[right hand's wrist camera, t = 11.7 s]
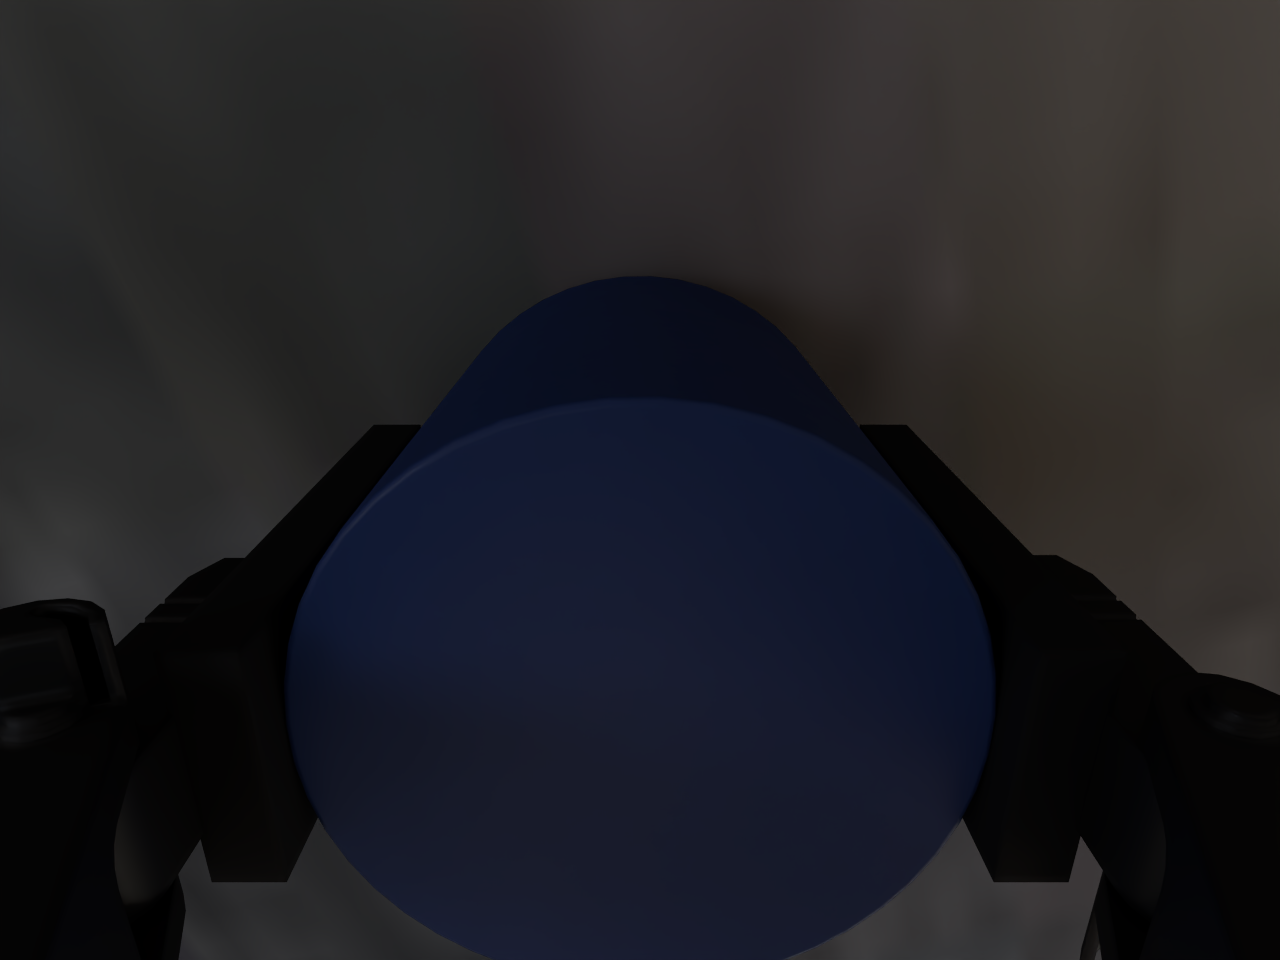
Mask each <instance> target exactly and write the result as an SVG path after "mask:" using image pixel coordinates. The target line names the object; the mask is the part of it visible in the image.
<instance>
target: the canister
mask: <svg viewBox="0 0 1280 960" xmlns="http://www.w3.org/2000/svg"><path fill="white" fill-rule="evenodd" d="M284 699H285V718H286V728H287V733H288V737H289V742H290V747H291V751H292V756H293V761H294V764H295V767H296V769H297V772H298V774H299V777H300V780H301V782H302V785H303V788H304V790H305V793H306V796H307V798H308V800H309V802H310V803H311V805H312V807H313V809H314V811H315V812H316V814H317V816H318V818H319V820H320V821H321V823H322V825H323V827H324V829H325V830H326V832H327V833H328V834H329V836H330V837H331V839H332V840H333V841H334V843H335V844H336V845H337V847H338V848H339V849H340V851H341V852H342V853H343V855H344V856H345V857H346V859H347V860H348V861H349V862H350V863H351V864H352V865H353V866H354V867H355V868H356V869H357V871H358V872H359V873H360V874H361V875H362V876H363V877H364V878H365V879H366V880H367V881H368V882H369V883H370V884H371V885H372V886H373V887H374V888H375V889H376V890H377V891H379V892H380V893H381V894H382V895H384V896H385V897H386V898H387V899H388V900H390V901H391V902H392V903H393V904H395V905H396V906H397V907H398V908H399V909H401V910H402V911H403V912H404V913H406V914H407V915H409V916H411V917H412V918H414V919H415V920H417V921H418V922H420V923H421V924H423V925H425V926H426V927H428V928H429V929H431V930H432V931H434V932H435V933H437V934H439V935H441V936H443V937H445V938H447V939H449V940H451V941H453V942H455V943H457V944H459V945H461V946H463V947H465V948H467V949H469V950H471V951H473V952H476V953H478V954H481V955H483V956H486V957H489V958H491V959H494V960H787V959H790V958H792V957H794V956H797V955H799V954H802V953H804V952H807V951H809V950H812V949H814V948H816V947H818V946H820V945H822V944H824V943H826V942H828V941H830V940H832V939H833V938H835V937H837V936H839V935H841V934H843V933H845V932H847V931H848V930H850V929H852V928H853V927H855V926H856V925H858V924H859V923H861V922H862V921H864V920H865V919H867V918H868V917H870V916H871V915H873V914H874V913H875V912H877V911H878V910H880V909H881V908H883V907H884V906H885V905H886V904H888V903H889V902H890V901H891V900H892V899H893V898H895V897H896V896H897V895H898V894H899V893H900V892H901V891H903V890H904V889H905V888H906V887H907V886H908V885H910V884H911V883H912V882H913V881H914V880H915V879H916V878H917V876H918V875H919V874H920V873H921V872H922V871H923V870H924V869H925V868H926V867H927V865H928V864H929V863H930V862H931V861H932V860H933V859H934V858H935V857H936V856H937V855H938V853H939V852H940V850H941V849H942V848H943V846H944V845H945V843H946V842H947V840H948V839H949V838H950V836H951V835H952V833H953V832H954V830H955V829H956V828H957V826H958V825H959V823H960V821H961V819H962V817H963V815H964V813H965V812H966V810H967V808H968V806H969V804H970V802H971V800H972V798H973V796H974V794H975V792H976V790H977V787H978V784H979V782H980V779H981V776H982V773H983V770H984V767H985V764H986V761H987V758H988V755H989V751H990V745H991V739H992V734H993V728H994V723H995V717H996V667H995V661H994V654H993V647H992V640H991V634H990V631H989V627H988V624H987V621H986V618H985V615H984V612H983V609H982V605H981V602H980V599H979V596H978V594H977V592H976V590H975V588H974V586H973V584H972V582H971V580H970V578H969V576H968V574H967V572H966V570H965V568H964V566H963V564H962V562H961V560H960V558H959V556H958V555H957V554H956V552H955V551H954V549H953V548H952V547H951V545H950V544H949V543H948V541H947V540H946V538H945V537H944V536H943V534H942V533H941V532H940V530H939V529H938V527H937V526H936V525H935V523H934V522H933V520H932V519H931V518H930V517H929V515H928V514H927V513H926V512H925V510H924V509H923V508H922V507H921V505H920V504H919V503H918V502H917V500H916V499H915V498H914V496H913V495H912V494H911V493H910V491H909V490H908V489H907V488H906V486H905V485H904V484H903V483H902V481H901V480H900V479H899V477H898V476H897V475H896V474H895V472H894V471H893V470H892V469H891V467H890V466H889V465H888V464H887V462H886V461H885V460H884V458H883V457H882V456H881V455H880V453H879V452H878V451H877V450H876V448H875V447H874V446H873V445H872V443H871V442H870V441H869V439H868V438H867V437H866V436H865V434H864V433H863V432H862V431H861V429H860V428H859V427H858V426H857V424H856V423H855V422H854V420H853V419H852V418H851V417H850V415H849V414H848V413H847V412H846V410H845V409H844V408H843V407H842V405H841V404H840V403H839V402H838V400H837V399H836V398H835V396H834V395H833V394H832V393H831V391H830V390H829V389H828V388H827V386H826V385H825V384H824V383H823V381H822V380H821V379H820V377H819V376H818V375H817V374H816V372H815V371H814V370H813V369H812V367H811V366H810V365H809V364H808V362H807V361H806V360H805V358H804V357H803V356H802V355H801V353H800V352H799V351H798V350H797V348H796V347H795V346H794V345H793V344H792V343H791V342H790V341H789V340H788V339H787V338H786V337H785V336H784V335H783V333H782V332H781V331H780V330H779V329H778V328H777V327H776V326H774V325H773V324H772V323H770V322H769V321H768V320H767V319H765V318H764V317H763V316H761V315H760V314H759V313H758V312H756V311H755V310H753V309H751V308H750V307H748V306H746V305H744V304H743V303H741V302H739V301H738V300H736V299H734V298H732V297H730V296H728V295H725V294H723V293H720V292H718V291H716V290H713V289H711V288H708V287H706V286H702V285H698V284H694V283H690V282H686V281H682V280H678V279H670V278H661V277H653V276H637V277H618V278H611V279H604V280H598V281H593V282H590V283H586V284H583V285H579V286H576V287H572V288H569V289H567V290H564V291H562V292H560V293H558V294H555V295H553V296H551V297H549V298H546V299H544V300H542V301H541V302H539V303H537V304H536V305H534V306H533V307H531V308H529V309H528V310H526V311H524V312H523V313H521V314H520V315H519V316H517V317H516V318H515V319H514V320H513V321H511V322H510V323H509V324H508V325H507V326H505V327H504V328H503V329H502V330H500V331H499V332H498V334H497V335H496V336H495V337H494V338H493V339H492V340H491V341H490V342H489V343H488V345H487V346H486V347H485V348H484V349H483V350H482V351H481V352H480V354H479V355H478V356H477V358H476V359H475V360H474V361H473V363H472V364H471V365H470V366H469V368H468V369H467V370H466V371H465V373H464V374H463V375H462V376H461V378H460V379H459V380H458V382H457V383H456V384H455V385H454V387H453V388H452V389H451V390H450V392H449V393H448V394H447V395H446V397H445V398H444V399H443V401H442V402H441V403H440V404H439V406H438V407H437V408H436V409H435V411H434V412H433V413H432V414H431V416H430V417H429V418H428V420H427V421H426V422H425V423H424V425H423V426H422V427H421V428H420V430H419V431H418V432H417V433H416V435H415V436H414V437H413V439H412V440H411V441H410V442H409V444H408V445H407V446H406V447H405V449H404V450H403V451H402V452H401V454H400V455H399V456H398V457H397V459H396V460H395V461H394V463H393V464H392V465H391V466H390V468H389V469H388V470H387V471H386V473H385V474H384V475H383V476H382V478H381V479H380V480H379V482H378V483H377V484H376V485H375V487H374V488H373V489H372V490H371V492H370V493H369V494H368V495H367V497H366V498H365V499H364V501H363V502H362V503H361V504H360V506H359V507H358V508H357V509H356V511H355V512H354V513H353V514H352V516H351V517H350V518H349V520H348V521H347V522H346V523H345V525H344V526H343V527H342V528H341V530H340V531H339V533H338V534H337V536H336V537H335V539H334V540H333V542H332V543H331V545H330V546H329V548H328V549H327V551H326V552H325V554H324V555H323V557H322V558H321V560H320V561H319V563H318V564H317V566H316V568H315V570H314V572H313V574H312V576H311V579H310V581H309V583H308V585H307V587H306V589H305V592H304V594H303V596H302V598H301V600H300V602H299V605H298V609H297V612H296V616H295V619H294V623H293V627H292V630H291V634H290V637H289V641H288V647H287V656H286V666H285V675H284Z"/></svg>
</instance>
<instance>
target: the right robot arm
mask: <svg viewBox="0 0 1280 960" xmlns="http://www.w3.org/2000/svg"><path fill="white" fill-rule="evenodd" d="M420 428H421V426H420V425H373V426H372V427H371V428H370V429H369V430H368V431H367V432H366V434H365V435H364V436H363V437H362V438H361V439H360V440H359V441H358V442H357V443H356V444H355V445H354V446H353V447H352V448H351V449H350V450H349V451H348V452H347V453H346V454H345V455H344V456H343V457H342V458H341V459H340V460H339V461H338V462H337V463H336V464H335V466H334V467H333V468H332V469H331V470H330V471H329V472H328V473H327V474H326V475H325V476H324V477H323V478H322V479H321V480H320V481H319V482H318V483H317V484H316V485H315V486H314V487H313V488H312V489H311V490H310V491H309V492H308V493H307V494H306V495H305V496H304V497H303V499H302V500H301V501H300V502H299V503H298V504H297V505H296V506H295V507H294V508H293V509H292V510H291V511H290V512H289V513H288V514H287V515H286V516H285V517H284V518H283V519H282V520H281V521H280V522H279V523H278V524H277V525H276V526H275V527H274V528H273V529H272V530H271V532H270V533H269V534H268V535H267V536H266V537H265V538H264V539H263V540H262V541H261V542H260V543H259V544H258V545H257V546H256V547H255V548H254V549H253V550H252V551H251V552H250V553H249V554H248V555H247V556H246V557H245V558H224V559H222V560H220V561H218V562H216V563H214V564H212V565H210V566H208V567H207V568H205V569H203V570H201V571H199V572H197V573H195V574H193V575H191V576H190V577H188V578H187V579H186V580H185V581H184V582H183V583H182V584H181V585H180V586H178V587H177V588H176V589H175V590H174V591H173V592H172V593H171V594H170V595H169V596H168V597H167V598H166V599H165V604H159V605H158V606H157V607H156V608H155V609H154V610H153V611H152V612H151V613H150V614H149V615H148V616H147V617H146V618H145V623H139V624H138V625H137V626H136V627H135V628H134V629H133V630H132V631H131V632H130V633H129V634H128V635H127V636H126V637H125V638H123V639H122V640H121V641H120V642H119V643H118V644H117V645H116V646H114V642H113V638H112V635H111V631H110V628H109V624H108V620H107V617H106V613H105V610H104V609H103V608H101V607H99V606H98V605H96V604H95V603H93V602H92V601H85V600H77V599H70V598H66V599H53V600H40V601H34V602H30V603H25V604H21V605H16V606H12V607H7V608H3V609H0V960H178V959H179V952H180V946H181V939H182V932H183V926H184V919H185V912H186V909H185V902H184V895H183V890H182V887H181V883H180V879H179V876H178V873H179V872H180V870H181V869H182V867H183V866H184V864H185V862H186V861H187V859H188V858H189V856H190V855H191V853H192V851H193V850H194V848H195V847H196V845H197V844H198V842H199V840H200V839H201V842H202V846H203V850H204V854H205V858H206V861H207V865H208V869H209V873H210V877H211V881H212V882H287V880H288V878H289V876H290V874H291V872H292V870H293V868H294V866H295V864H296V862H297V860H298V858H299V855H300V853H301V851H302V849H303V847H304V845H305V843H306V841H307V839H308V837H309V835H310V833H311V831H312V829H313V826H314V824H315V822H316V820H317V818H318V816H317V814H316V812H315V811H314V809H313V807H312V805H311V803H310V802H309V800H308V798H307V796H306V793H305V790H304V788H303V785H302V782H301V780H300V777H299V774H298V772H297V769H296V767H295V764H294V761H293V756H292V751H291V747H290V742H289V737H288V733H287V728H286V718H285V699H284V675H285V666H286V656H287V647H288V641H289V637H290V634H291V630H292V627H293V623H294V619H295V616H296V612H297V609H298V605H299V602H300V600H301V598H302V596H303V594H304V592H305V589H306V587H307V585H308V583H309V581H310V579H311V576H312V574H313V572H314V570H315V568H316V566H317V564H318V563H319V561H320V560H321V558H322V557H323V555H324V554H325V552H326V551H327V549H328V548H329V546H330V545H331V543H332V542H333V540H334V539H335V537H336V536H337V534H338V533H339V531H340V530H341V528H342V527H343V526H344V525H345V523H346V522H347V521H348V520H349V518H350V517H351V516H352V514H353V513H354V512H355V511H356V509H357V508H358V507H359V506H360V504H361V503H362V502H363V501H364V499H365V498H366V497H367V495H368V494H369V493H370V492H371V490H372V489H373V488H374V487H375V485H376V484H377V483H378V482H379V480H380V479H381V478H382V476H383V475H384V474H385V473H386V471H387V470H388V469H389V468H390V466H391V465H392V464H393V463H394V461H395V460H396V459H397V457H398V456H399V455H400V454H401V452H402V451H403V450H404V449H405V447H406V446H407V445H408V444H409V442H410V441H411V440H412V439H413V437H414V436H415V435H416V433H417V432H418V431H419V430H420ZM860 429H861V431H862V432H863V433H864V434H865V436H866V437H867V438H868V439H869V441H870V442H871V443H872V445H873V446H874V447H875V448H876V450H877V451H878V452H879V453H880V455H881V456H882V457H883V458H884V460H885V461H886V462H887V464H888V465H889V466H890V467H891V469H892V470H893V471H894V472H895V474H896V475H897V476H898V477H899V479H900V480H901V481H902V483H903V484H904V485H905V486H906V488H907V489H908V490H909V491H910V493H911V494H912V495H913V496H914V498H915V499H916V500H917V502H918V503H919V504H920V505H921V507H922V508H923V509H924V510H925V512H926V513H927V514H928V515H929V517H930V518H931V519H932V520H933V522H934V523H935V525H936V526H937V527H938V529H939V530H940V532H941V533H942V534H943V536H944V537H945V538H946V540H947V541H948V543H949V544H950V545H951V547H952V548H953V549H954V551H955V552H956V554H957V555H958V556H959V558H960V560H961V562H962V564H963V566H964V568H965V570H966V572H967V574H968V576H969V578H970V580H971V582H972V584H973V586H974V588H975V590H976V592H977V594H978V596H979V599H980V602H981V605H982V609H983V612H984V615H985V618H986V621H987V624H988V627H989V631H990V634H991V640H992V647H993V654H994V661H995V667H996V717H995V723H994V728H993V734H992V739H991V745H990V751H989V755H988V758H987V761H986V764H985V767H984V770H983V773H982V776H981V779H980V782H979V784H978V787H977V790H976V792H975V794H974V796H973V798H972V800H971V802H970V804H969V806H968V808H967V810H966V812H965V813H964V815H963V819H964V822H965V824H966V826H967V828H968V830H969V832H970V834H971V836H972V838H973V840H974V842H975V844H976V846H977V848H978V851H979V853H980V855H981V857H982V859H983V861H984V863H985V865H986V867H987V869H988V871H989V873H990V875H991V877H992V880H993V882H1069V879H1070V875H1071V871H1072V867H1073V863H1074V859H1075V855H1076V852H1077V848H1078V844H1079V840H1080V836H1081V837H1082V838H1083V840H1084V842H1085V843H1086V845H1087V846H1088V848H1089V849H1090V851H1091V853H1092V854H1093V856H1094V857H1095V859H1096V860H1097V862H1098V863H1099V865H1100V867H1101V868H1102V870H1103V872H1102V876H1101V879H1100V883H1099V887H1098V890H1097V894H1096V897H1095V901H1094V905H1093V908H1092V912H1091V915H1090V919H1089V923H1088V926H1087V930H1086V933H1085V937H1084V941H1083V944H1082V948H1081V954H1080V960H1094V959H1095V955H1096V952H1097V951H1098V950H1099V949H1100V950H1101V957H1102V960H1280V695H1278V694H1276V693H1273V692H1271V691H1269V690H1266V689H1264V688H1262V687H1259V686H1257V685H1255V684H1252V683H1249V682H1245V681H1241V680H1238V679H1234V678H1230V677H1226V676H1222V675H1217V674H1206V673H1198V672H1197V671H1195V670H1194V669H1193V668H1192V667H1191V666H1190V665H1189V664H1188V663H1187V662H1186V661H1185V660H1184V659H1183V658H1182V657H1181V656H1179V655H1178V654H1177V653H1176V652H1175V651H1174V650H1173V649H1172V648H1171V647H1170V646H1169V645H1168V644H1167V643H1166V642H1165V641H1163V640H1162V639H1161V638H1160V637H1159V636H1158V635H1157V634H1156V633H1155V632H1154V631H1153V630H1152V629H1151V628H1150V627H1149V626H1147V625H1146V624H1145V623H1144V622H1143V621H1142V620H1137V619H1136V614H1135V613H1134V612H1133V611H1131V610H1130V609H1129V608H1128V607H1127V606H1126V605H1125V604H1124V603H1123V602H1122V601H1117V600H1116V596H1115V595H1114V594H1113V593H1112V592H1111V591H1110V590H1109V589H1108V588H1107V587H1106V586H1105V585H1104V584H1103V583H1102V582H1100V581H1099V580H1098V579H1097V578H1096V577H1095V576H1094V575H1093V574H1091V573H1090V572H1088V571H1086V570H1084V569H1082V568H1080V567H1078V566H1076V565H1074V564H1072V563H1070V562H1069V561H1067V560H1065V559H1063V558H1061V557H1059V556H1057V555H1032V554H1031V553H1030V552H1029V551H1028V550H1027V549H1026V548H1025V547H1024V546H1023V544H1022V543H1021V542H1020V541H1019V540H1018V539H1017V538H1016V537H1015V536H1014V535H1013V534H1012V533H1011V532H1010V531H1009V530H1008V529H1007V528H1006V527H1005V526H1004V525H1003V524H1002V523H1001V522H1000V521H999V520H998V519H997V518H996V517H995V516H994V515H993V514H992V513H991V511H990V510H989V509H988V508H987V507H986V506H985V505H984V504H983V503H982V502H981V501H980V500H979V499H978V498H977V497H976V496H975V495H974V494H973V493H972V492H971V491H970V490H969V489H968V488H967V487H966V486H965V485H964V484H963V483H962V482H961V481H960V480H959V478H958V477H957V476H956V475H955V474H954V473H953V472H952V471H951V470H950V469H949V468H948V467H947V466H946V465H945V464H944V463H943V462H942V461H941V460H940V459H939V458H938V457H937V456H936V455H935V454H934V453H933V452H932V451H931V450H930V449H929V448H928V447H927V445H926V444H925V443H924V442H923V441H922V440H921V439H920V438H919V437H918V436H917V435H916V434H915V433H914V432H913V431H912V430H911V429H910V428H909V427H908V426H907V425H860Z"/></svg>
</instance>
